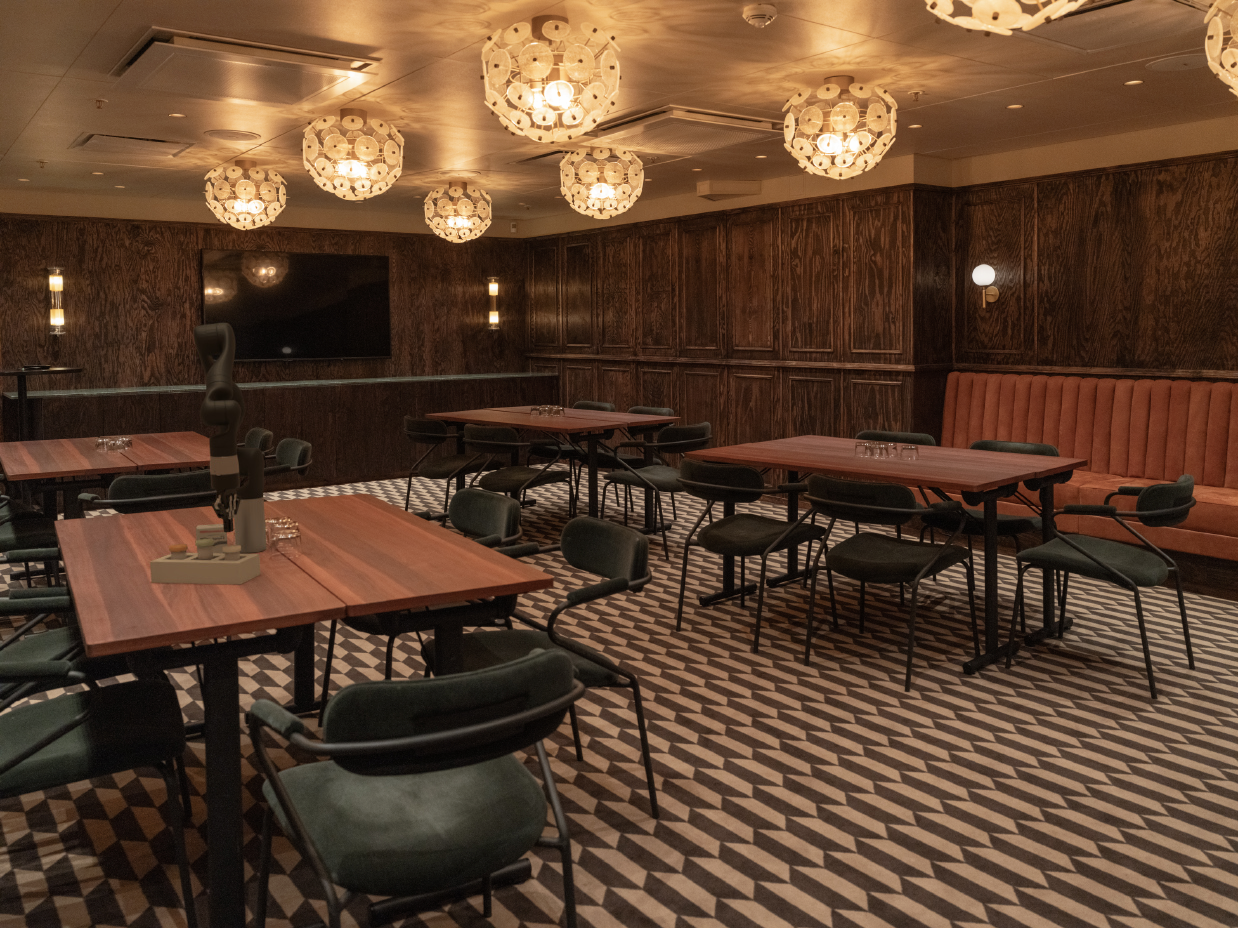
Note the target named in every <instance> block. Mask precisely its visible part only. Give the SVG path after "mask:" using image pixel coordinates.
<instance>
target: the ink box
mask: <svg viewBox="0 0 1238 928" xmlns="http://www.w3.org/2000/svg"><path fill="white" fill-rule="evenodd" d="M195 537H196V540H201V539H213V540H214V545H213V553H224V552H223V547H224V546H228V532H224V527H223V523H218V524H217V523H216V524H215V523H214V524H200V525H199V524H198V525H197V526H195ZM196 540H195V541H196ZM196 553H198V552H197V551H196Z"/></svg>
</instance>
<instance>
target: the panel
mask: <svg viewBox="0 0 1238 928" xmlns="http://www.w3.org/2000/svg"><path fill="white" fill-rule="evenodd" d="M186 555H187V558H186V559H184V560H171V553H170V554H166V555H165V556H162V557H159V558H156V559H153V560H151V561H149V565H150V582H151V584H152V583H153V584H155V583H156V584H157V583H158V584H160V583H161V584H190V585H191V584H194V585H198V584H199V585H240V586H241V585H242V584H244V583H246V582H249V581H250V580H252V579H254V578H257V577H259V576H261V562H260V561H261V560H260V553H240V560H238V561H225V554H224V553H213V559H212V560H198V553H197V552H186Z"/></svg>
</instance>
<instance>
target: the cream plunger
mask: <svg viewBox="0 0 1238 928" xmlns="http://www.w3.org/2000/svg"><path fill="white" fill-rule="evenodd" d="M240 551H241V546H240V545H235V544H229V545H228V544H227V546H224V547H223V552H224V554H225V561H238V560H240V554H241V553H240Z"/></svg>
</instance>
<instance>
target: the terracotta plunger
mask: <svg viewBox="0 0 1238 928" xmlns="http://www.w3.org/2000/svg"><path fill="white" fill-rule="evenodd" d="M188 546H189V545H188V544H186V543H176V544H171V545H169V546H168V551H169V552H170V554H171V560H184V559H186V558H187V555H186V553H187V550H189V548H188Z"/></svg>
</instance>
